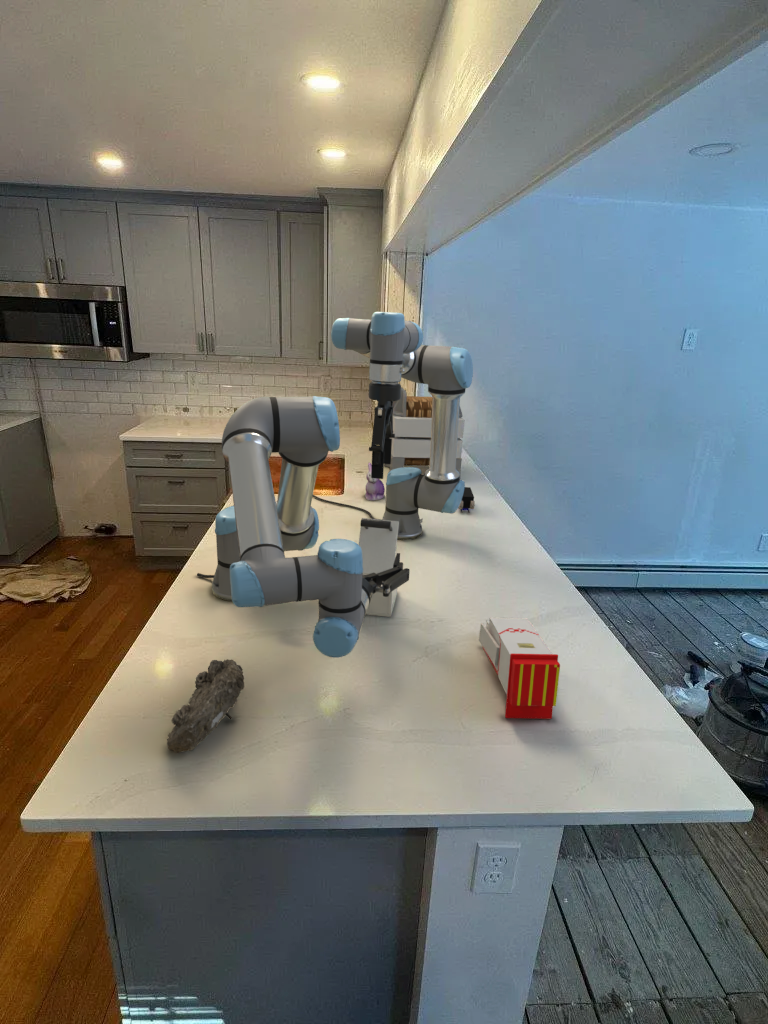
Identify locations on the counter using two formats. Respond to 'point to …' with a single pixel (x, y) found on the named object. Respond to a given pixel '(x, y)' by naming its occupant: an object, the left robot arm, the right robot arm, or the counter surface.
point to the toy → (522, 666)
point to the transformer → (416, 432)
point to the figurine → (373, 486)
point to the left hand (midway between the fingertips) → (368, 555)
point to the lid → (378, 544)
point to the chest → (382, 604)
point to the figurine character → (467, 500)
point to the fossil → (206, 705)
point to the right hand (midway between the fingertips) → (381, 470)
